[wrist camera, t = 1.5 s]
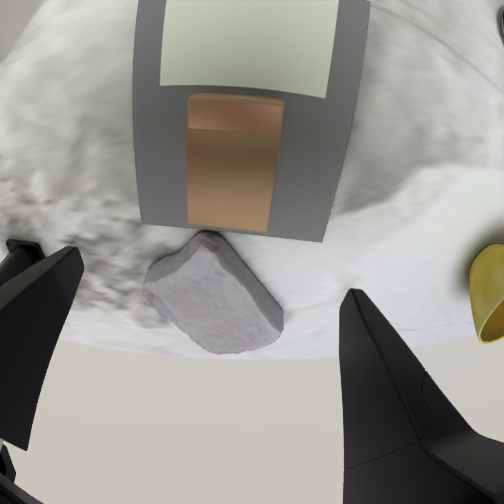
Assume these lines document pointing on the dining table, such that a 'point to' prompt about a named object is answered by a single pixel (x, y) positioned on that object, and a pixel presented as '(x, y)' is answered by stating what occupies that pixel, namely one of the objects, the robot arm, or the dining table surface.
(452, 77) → the dining table surface
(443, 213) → the dining table surface
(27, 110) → the dining table surface
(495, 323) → the yellow bowl
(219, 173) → the cardboard carton
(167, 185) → the mat
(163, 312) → the stone block
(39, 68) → the dining table surface
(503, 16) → the beverage can
